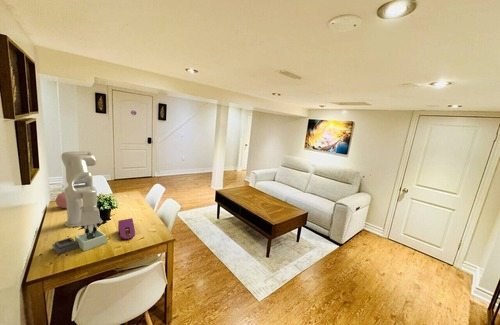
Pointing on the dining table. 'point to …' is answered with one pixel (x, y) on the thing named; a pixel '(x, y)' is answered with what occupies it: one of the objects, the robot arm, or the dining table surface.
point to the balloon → (61, 200)
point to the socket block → (64, 245)
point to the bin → (91, 240)
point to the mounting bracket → (126, 225)
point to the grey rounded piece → (90, 232)
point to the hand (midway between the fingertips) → (91, 233)
